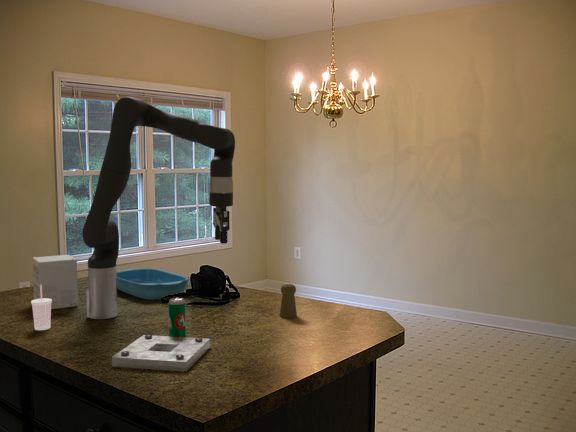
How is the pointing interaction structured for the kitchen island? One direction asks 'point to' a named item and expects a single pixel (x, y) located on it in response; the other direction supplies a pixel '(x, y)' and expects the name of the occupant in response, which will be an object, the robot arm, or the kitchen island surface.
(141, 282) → the casserole dish
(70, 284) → the supplement box
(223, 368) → the kitchen island surface
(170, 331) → the soda can
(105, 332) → the kitchen island surface
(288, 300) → the cork
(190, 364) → the socket plate
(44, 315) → the beverage cup
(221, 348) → the kitchen island surface
